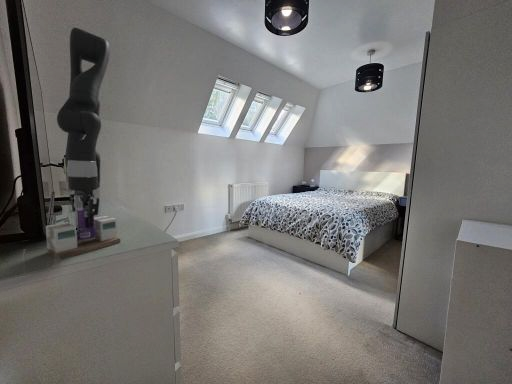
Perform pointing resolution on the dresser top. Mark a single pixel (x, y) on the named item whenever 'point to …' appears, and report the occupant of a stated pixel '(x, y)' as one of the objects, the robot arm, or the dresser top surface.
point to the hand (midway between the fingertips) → (85, 226)
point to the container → (82, 223)
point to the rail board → (67, 245)
